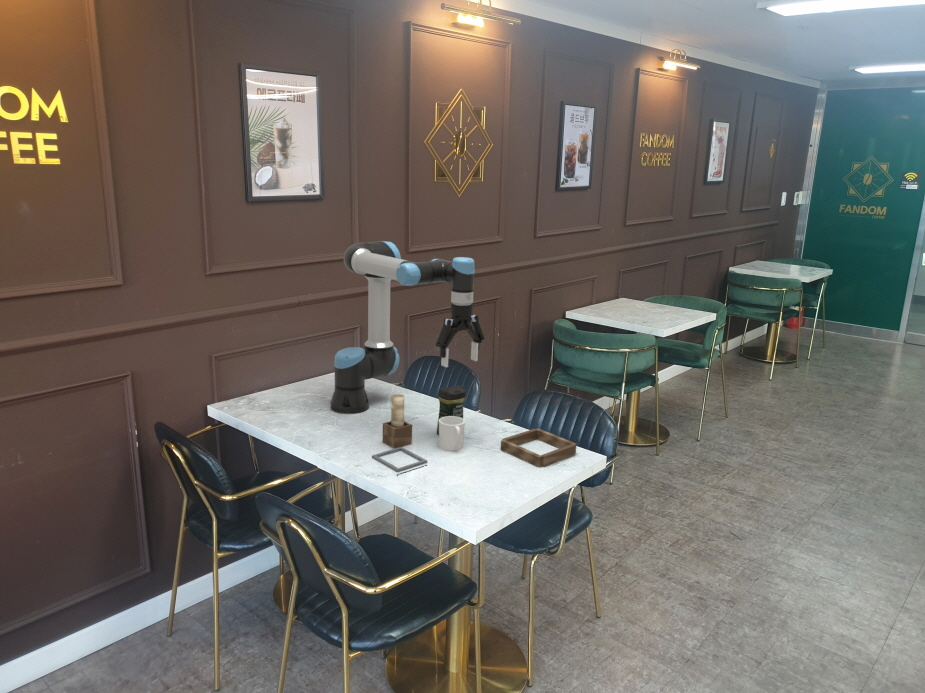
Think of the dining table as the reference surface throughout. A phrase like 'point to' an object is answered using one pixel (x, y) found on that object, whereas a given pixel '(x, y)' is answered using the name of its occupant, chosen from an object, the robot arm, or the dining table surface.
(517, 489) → the dining table surface
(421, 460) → the tray
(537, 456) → the frame
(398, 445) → the pen cup
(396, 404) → the dowel
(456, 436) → the mug
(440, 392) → the coffee jar
